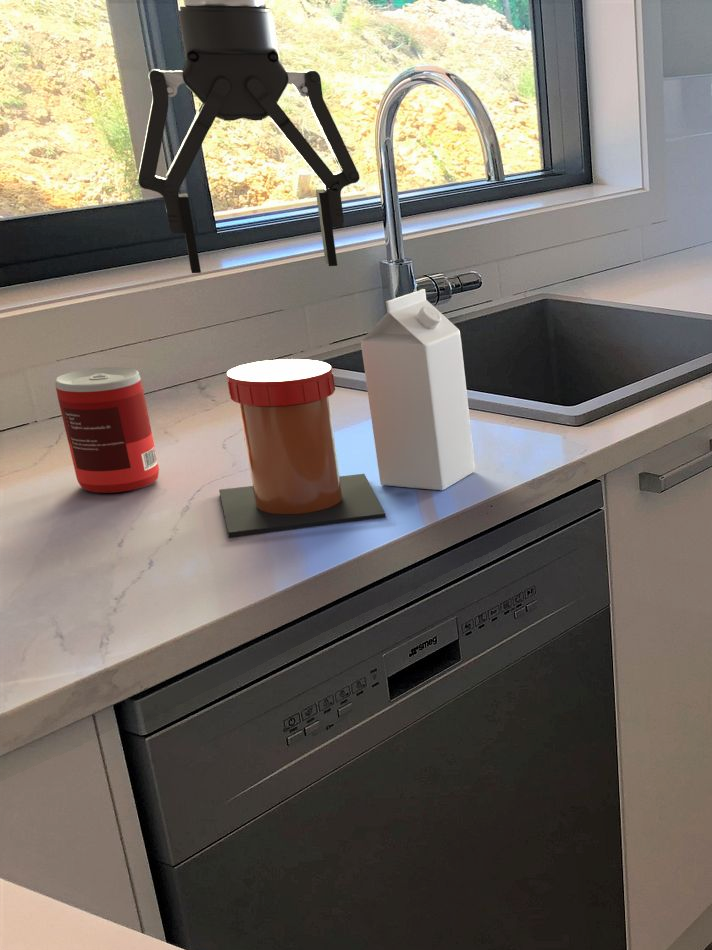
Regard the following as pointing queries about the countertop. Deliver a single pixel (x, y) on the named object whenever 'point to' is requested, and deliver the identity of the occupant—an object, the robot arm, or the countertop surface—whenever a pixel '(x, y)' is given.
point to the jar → (292, 457)
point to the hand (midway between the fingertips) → (264, 267)
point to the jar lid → (280, 382)
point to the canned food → (108, 429)
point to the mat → (351, 508)
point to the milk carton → (418, 396)
